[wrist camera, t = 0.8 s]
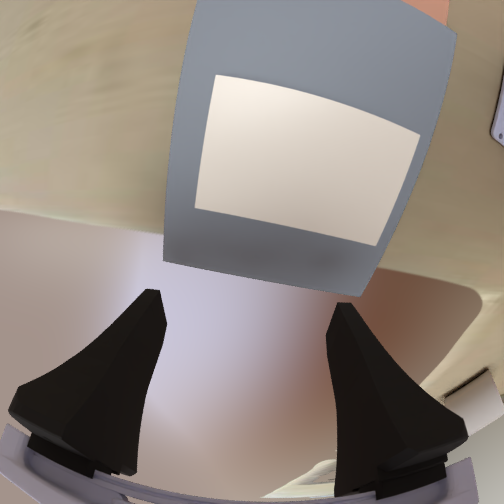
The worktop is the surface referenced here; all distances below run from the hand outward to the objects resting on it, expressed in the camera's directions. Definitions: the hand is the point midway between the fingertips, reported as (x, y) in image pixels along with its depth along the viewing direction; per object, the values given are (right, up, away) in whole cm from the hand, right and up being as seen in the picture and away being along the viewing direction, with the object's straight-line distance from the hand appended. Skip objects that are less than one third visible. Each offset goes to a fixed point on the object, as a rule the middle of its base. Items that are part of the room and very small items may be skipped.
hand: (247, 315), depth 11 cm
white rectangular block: (+3, +7, +2) cm, 8 cm away
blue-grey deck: (+3, +10, +4) cm, 12 cm away
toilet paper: (+41, -22, +25) cm, 52 cm away
